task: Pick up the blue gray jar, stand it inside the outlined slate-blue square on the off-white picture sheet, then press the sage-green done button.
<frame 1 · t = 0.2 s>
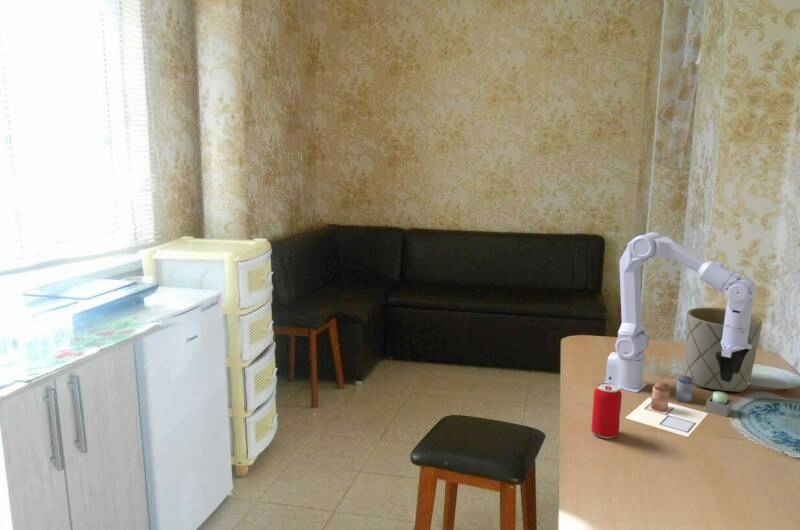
hand: (729, 376, 159), 10 cm above the table, fingers open, 7 cm apart
blue gray jar: (683, 400, 168), on the table
beverage can: (604, 434, 149), on the table
done button: (719, 399, 161), point 3 cm above the table, slide at 0.0 cm
button housing: (718, 411, 162), on the table
picture sheet: (667, 416, 158), on the table
brown jar: (659, 408, 163), resting on picture sheet
planter: (715, 382, 181), on the table
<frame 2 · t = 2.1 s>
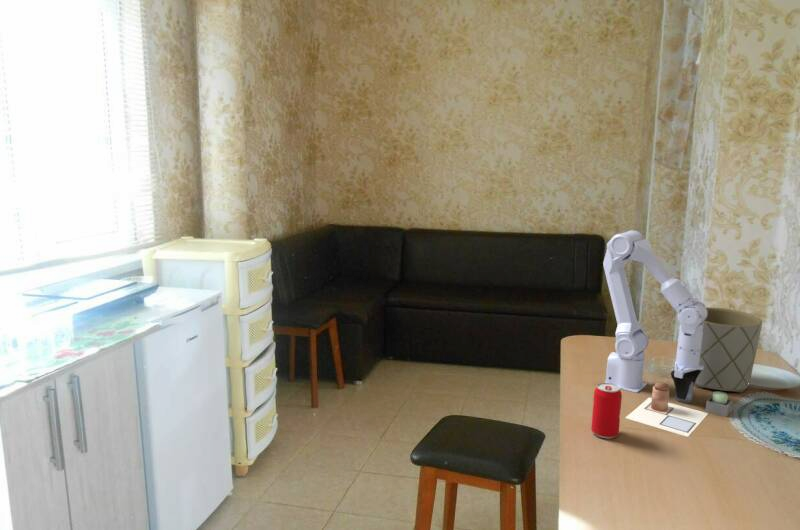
hand: (683, 395, 168), 1 cm above the table, fingers closed on blue gray jar, 4 cm apart
blue gray jar: (683, 400, 168), on the table, touching gripper
everything else where it was.
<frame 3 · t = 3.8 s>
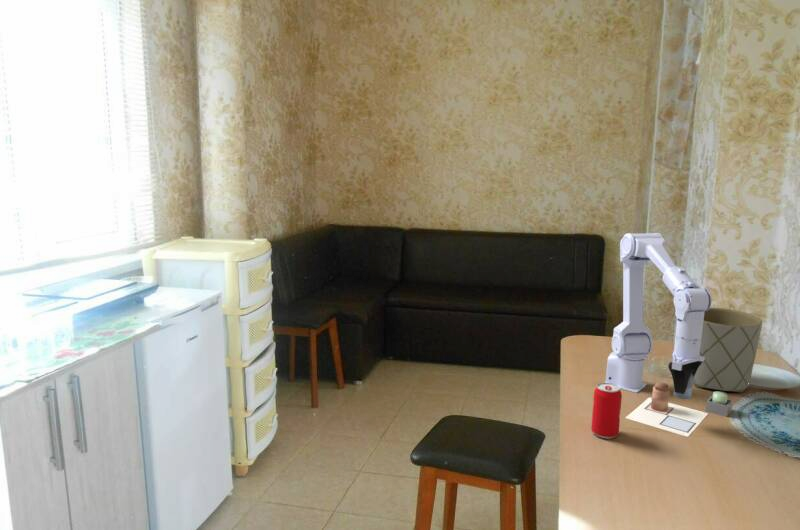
hand: (682, 389, 152), 9 cm above the table, fingers closed on blue gray jar, 4 cm apart
blue gray jar: (682, 395, 153), point 7 cm above the table, touching gripper
everything else where it was.
when the fingers open (2 cm above the table, at t = 5.5 s): blue gray jar stays where it is, resting on picture sheet.
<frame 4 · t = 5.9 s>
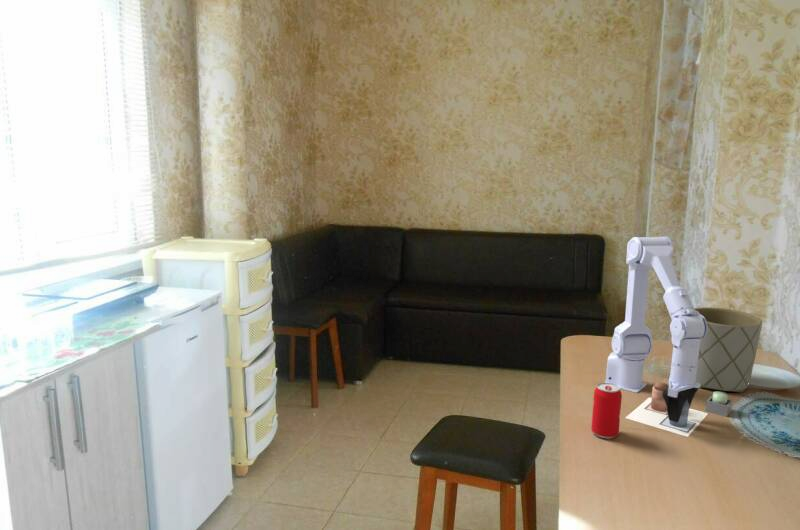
hand: (678, 415, 153), 2 cm above the table, fingers open, 7 cm apart
blue gray jar: (678, 423, 154), resting on picture sheet
everything else where it was.
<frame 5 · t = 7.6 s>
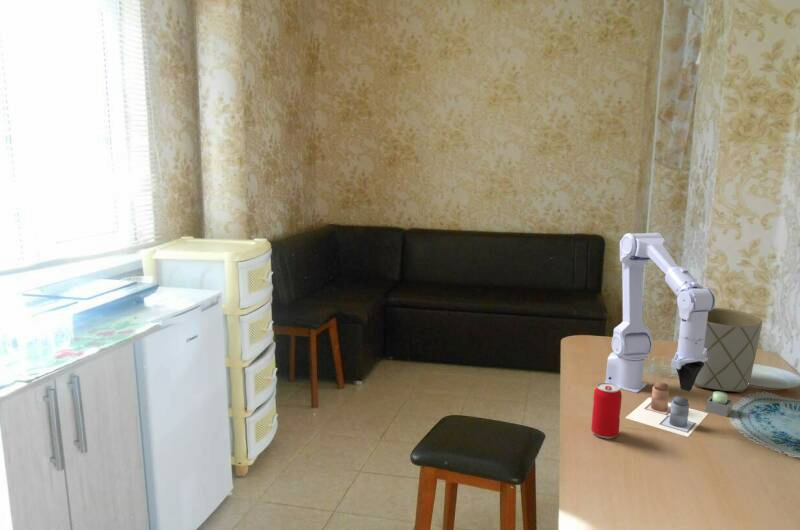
hand: (685, 389, 153), 9 cm above the table, fingers closed
nothing on the table moved.
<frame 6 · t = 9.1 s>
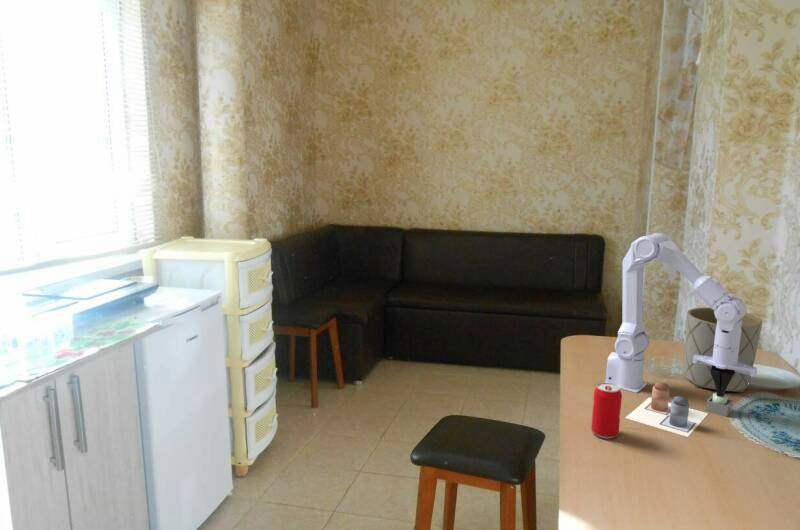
hand: (720, 395, 161), 4 cm above the table, fingers closed, pressing on done button
done button: (719, 400, 161), point 3 cm above the table, slide at 0.4 cm, touching gripper
everything else where it was.
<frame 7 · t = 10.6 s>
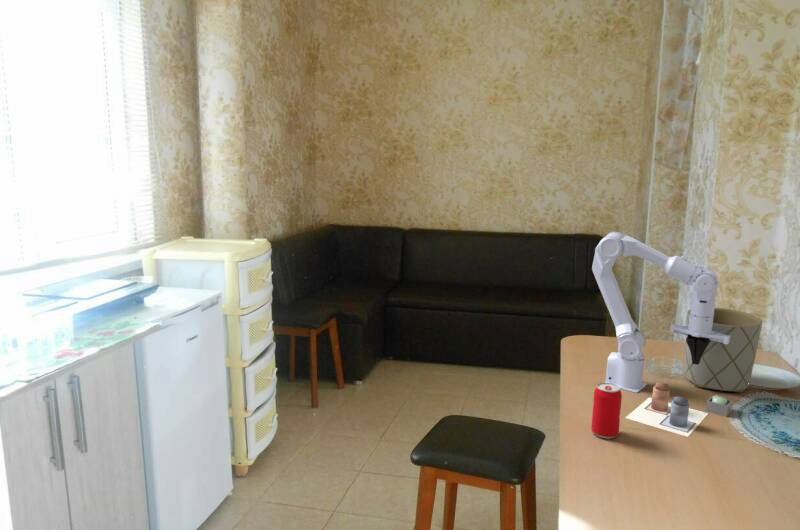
hand: (695, 363, 168), 10 cm above the table, fingers closed
done button: (719, 403, 161), point 2 cm above the table, slide at 1.1 cm
everything else where it was.
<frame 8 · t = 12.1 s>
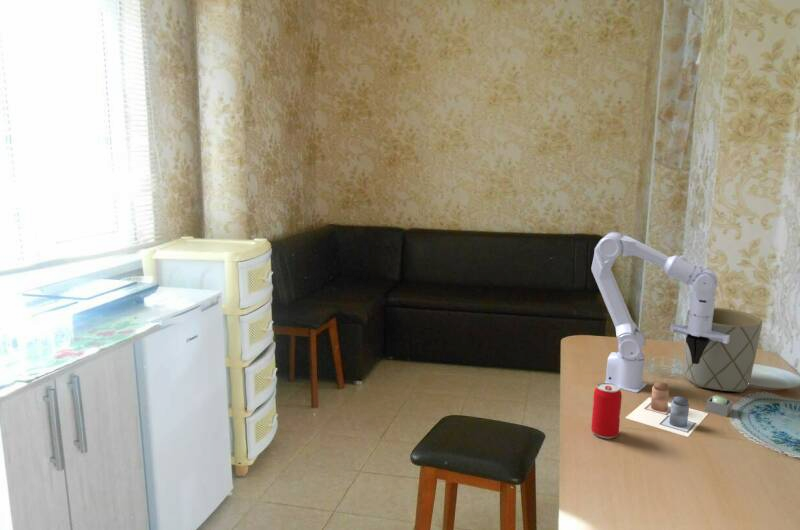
hand: (695, 362, 168), 10 cm above the table, fingers closed
nothing on the table moved.
at the end: blue gray jar inside the target area (0.1 cm from its centre), resting on picture sheet; blue gray jar tilted 0°; done button slide at 1.1 cm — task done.
